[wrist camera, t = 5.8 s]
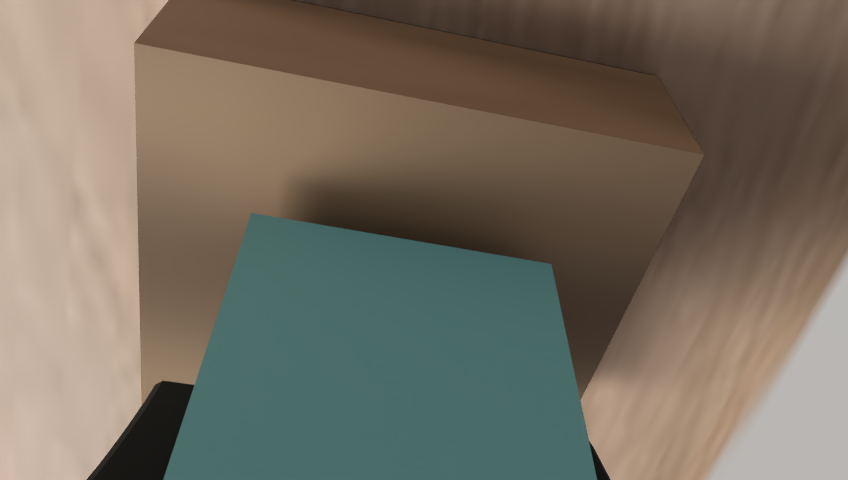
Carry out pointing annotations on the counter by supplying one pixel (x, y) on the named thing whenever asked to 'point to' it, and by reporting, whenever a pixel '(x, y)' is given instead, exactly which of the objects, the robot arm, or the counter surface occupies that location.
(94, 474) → the robot arm
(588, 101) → the walnut plinth
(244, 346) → the teal block
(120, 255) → the counter surface
